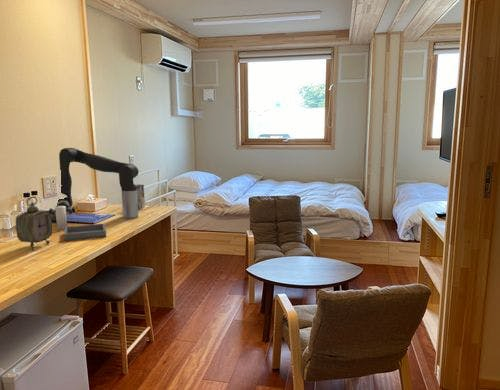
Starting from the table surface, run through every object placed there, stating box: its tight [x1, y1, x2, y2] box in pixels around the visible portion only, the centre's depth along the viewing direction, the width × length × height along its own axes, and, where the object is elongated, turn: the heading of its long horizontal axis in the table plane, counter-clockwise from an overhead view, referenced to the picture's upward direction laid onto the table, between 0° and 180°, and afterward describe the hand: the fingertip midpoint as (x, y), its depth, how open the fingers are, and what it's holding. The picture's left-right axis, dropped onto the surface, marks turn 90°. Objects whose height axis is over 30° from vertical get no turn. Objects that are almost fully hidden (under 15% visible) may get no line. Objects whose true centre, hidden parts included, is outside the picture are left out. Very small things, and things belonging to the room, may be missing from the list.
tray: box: [64, 223, 107, 242], centre depth 220 cm, size 20×15×4 cm
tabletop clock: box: [15, 196, 53, 252], centre depth 198 cm, size 14×9×25 cm, turn 168°
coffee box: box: [135, 184, 146, 211], centre depth 281 cm, size 9×6×16 cm
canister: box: [54, 206, 68, 231], centre depth 229 cm, size 5×5×13 cm
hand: (61, 213), depth 238 cm, fingers open, 8 cm apart
